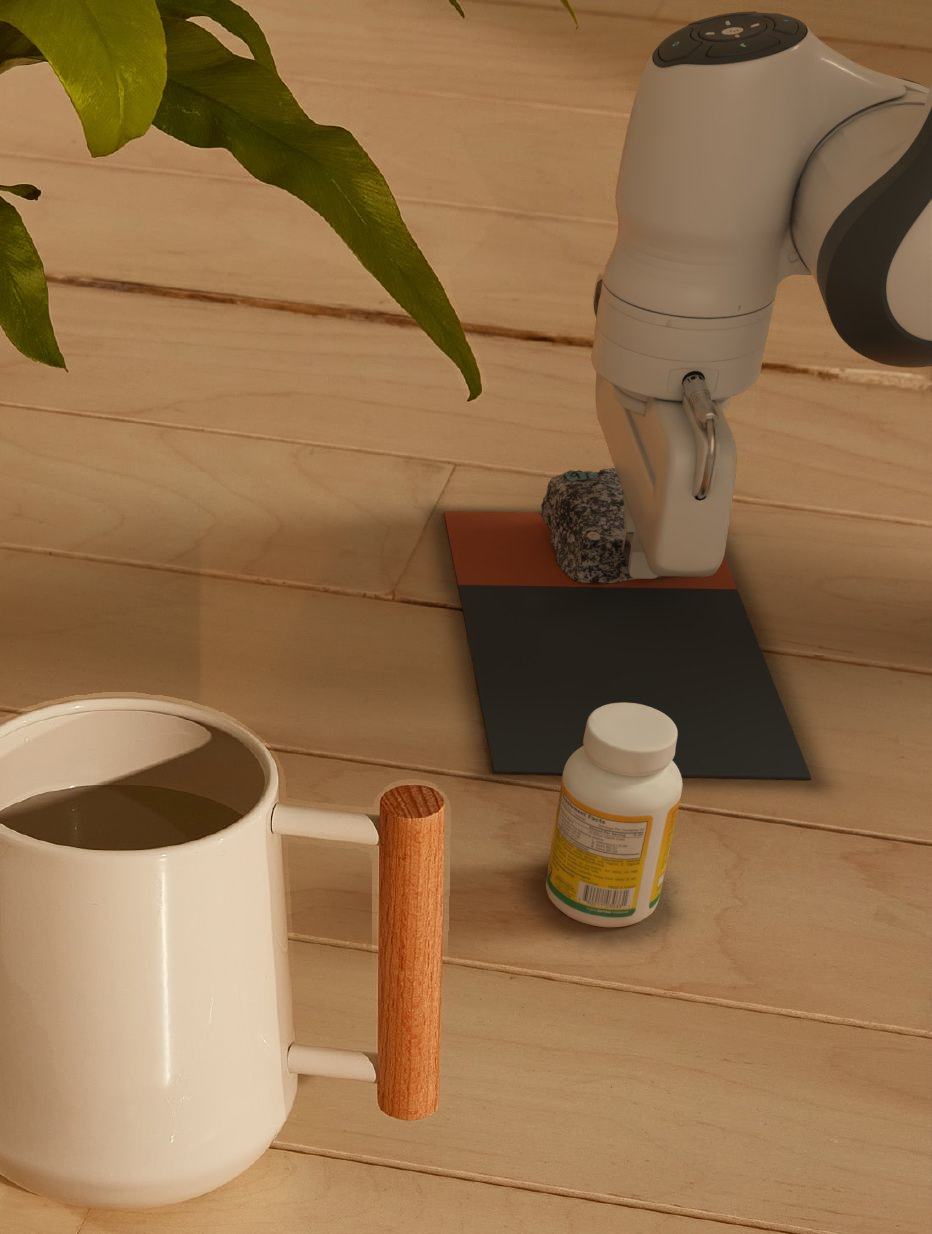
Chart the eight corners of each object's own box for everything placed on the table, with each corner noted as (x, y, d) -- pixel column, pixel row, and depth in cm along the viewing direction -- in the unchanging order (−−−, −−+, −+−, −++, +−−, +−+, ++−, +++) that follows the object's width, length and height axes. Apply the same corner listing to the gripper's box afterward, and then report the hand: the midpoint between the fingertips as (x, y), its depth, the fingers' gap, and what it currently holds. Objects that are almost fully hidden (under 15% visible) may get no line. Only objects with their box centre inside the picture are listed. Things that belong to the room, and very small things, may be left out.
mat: (707, 517, 132) (708, 515, 132) (811, 779, 110) (811, 777, 110) (444, 513, 133) (444, 511, 132) (493, 773, 110) (493, 771, 110)
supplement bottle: (593, 944, 99) (623, 772, 94) (520, 882, 103) (545, 713, 97) (683, 909, 101) (718, 738, 96) (609, 849, 105) (639, 682, 99)
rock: (736, 580, 125) (750, 516, 123) (563, 586, 125) (573, 522, 122) (699, 518, 131) (711, 455, 129) (534, 524, 131) (542, 461, 128)
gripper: (782, 425, 106) (732, 665, 114) (703, 265, 122) (664, 485, 131) (653, 423, 106) (612, 663, 115) (591, 264, 123) (559, 484, 131)
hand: (639, 567), depth 123 cm, fingers closed
